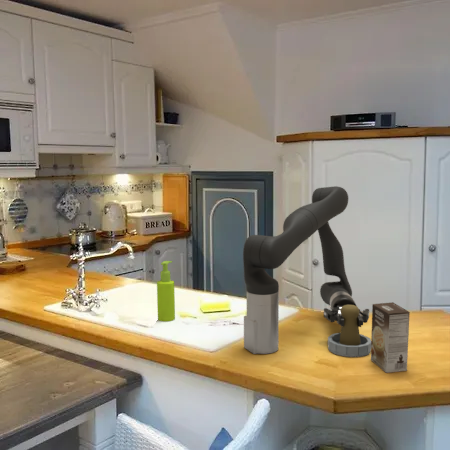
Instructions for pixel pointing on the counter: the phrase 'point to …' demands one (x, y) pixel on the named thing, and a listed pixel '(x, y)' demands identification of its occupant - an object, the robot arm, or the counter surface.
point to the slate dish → (349, 350)
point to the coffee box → (390, 337)
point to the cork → (350, 326)
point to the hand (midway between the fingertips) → (351, 323)
